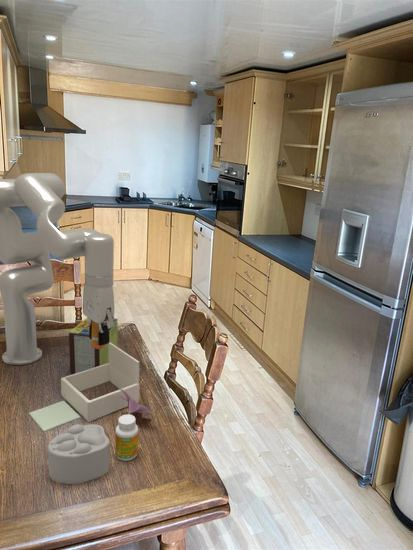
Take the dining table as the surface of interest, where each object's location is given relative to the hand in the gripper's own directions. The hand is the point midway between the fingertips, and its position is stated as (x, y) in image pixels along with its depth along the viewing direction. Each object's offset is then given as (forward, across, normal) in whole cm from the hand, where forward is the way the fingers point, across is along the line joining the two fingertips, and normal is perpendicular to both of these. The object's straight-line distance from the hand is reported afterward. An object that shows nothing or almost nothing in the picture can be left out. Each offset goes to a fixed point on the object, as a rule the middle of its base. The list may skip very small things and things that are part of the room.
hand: (99, 340), depth 122 cm
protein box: (+19, -18, +8) cm, 27 cm away
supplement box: (+2, 0, 0) cm, 2 cm away
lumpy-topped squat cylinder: (+19, +22, -18) cm, 34 cm away
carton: (+19, 0, 0) cm, 19 cm away
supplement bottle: (+19, +26, -7) cm, 32 cm away
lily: (+19, +15, +2) cm, 24 cm away
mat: (+19, 0, -14) cm, 23 cm away
